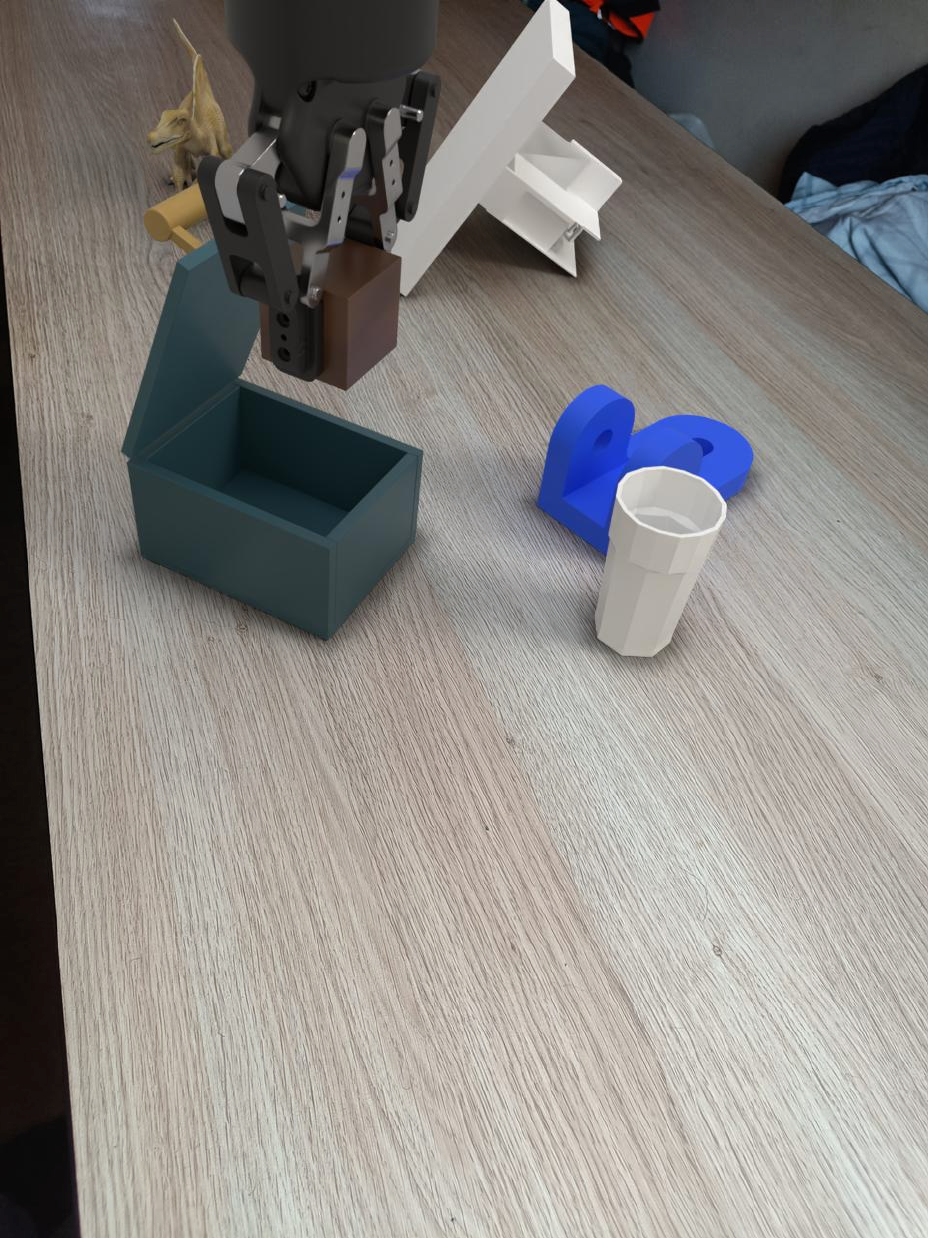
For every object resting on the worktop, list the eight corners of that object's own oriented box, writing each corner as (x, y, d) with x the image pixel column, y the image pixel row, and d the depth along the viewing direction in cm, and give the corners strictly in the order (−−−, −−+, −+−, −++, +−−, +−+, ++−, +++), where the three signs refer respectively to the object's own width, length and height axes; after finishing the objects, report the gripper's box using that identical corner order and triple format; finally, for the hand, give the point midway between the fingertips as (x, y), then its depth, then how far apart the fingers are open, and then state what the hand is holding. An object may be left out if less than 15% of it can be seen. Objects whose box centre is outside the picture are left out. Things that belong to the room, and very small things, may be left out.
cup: (598, 583, 74) (632, 454, 66) (690, 614, 73) (736, 486, 65) (570, 645, 69) (603, 514, 62) (668, 679, 68) (714, 550, 60)
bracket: (620, 566, 75) (649, 464, 69) (536, 505, 79) (556, 403, 73) (766, 474, 85) (803, 377, 79) (685, 424, 89) (714, 327, 82)
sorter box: (415, 540, 75) (424, 450, 70) (327, 641, 67) (329, 549, 62) (242, 467, 79) (237, 376, 73) (140, 555, 71) (126, 461, 66)
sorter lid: (313, 192, 61) (243, 137, 61) (188, 270, 54) (108, 206, 54) (241, 374, 73) (182, 328, 73) (130, 459, 65) (64, 407, 65)
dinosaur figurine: (154, 246, 101) (138, 98, 91) (179, 135, 119) (168, 2, 110) (237, 250, 102) (229, 104, 92) (249, 139, 120) (244, 9, 111)
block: (346, 391, 46) (348, 298, 43) (260, 358, 47) (256, 265, 44) (397, 346, 49) (402, 256, 45) (315, 316, 50) (315, 225, 47)
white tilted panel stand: (405, 177, 114) (548, -25, 100) (523, 264, 121) (673, 86, 107) (385, 282, 98) (553, 57, 84) (523, 376, 104) (700, 183, 90)
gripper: (349, -155, 41) (342, 260, 53) (97, -91, 32) (158, 394, 44) (524, -114, 39) (475, 307, 51) (310, -33, 30) (312, 458, 42)
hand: (329, 345), depth 48 cm, fingers closed on block, 4 cm apart
